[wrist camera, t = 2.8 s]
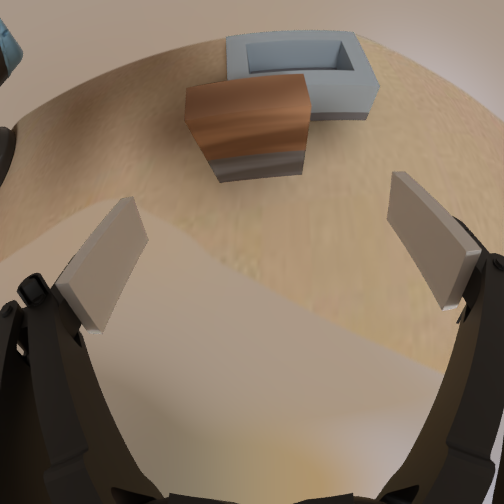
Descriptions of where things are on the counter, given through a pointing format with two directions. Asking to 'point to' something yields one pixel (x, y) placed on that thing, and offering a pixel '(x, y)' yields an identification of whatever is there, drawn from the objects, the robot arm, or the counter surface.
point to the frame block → (310, 68)
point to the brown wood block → (251, 125)
